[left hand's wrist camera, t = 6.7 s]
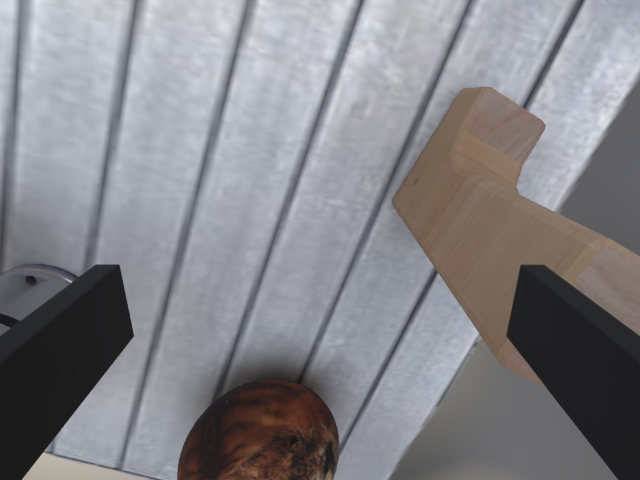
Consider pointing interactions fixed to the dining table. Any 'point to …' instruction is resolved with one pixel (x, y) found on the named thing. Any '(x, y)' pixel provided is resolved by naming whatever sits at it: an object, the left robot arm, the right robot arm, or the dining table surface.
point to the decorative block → (503, 223)
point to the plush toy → (263, 436)
